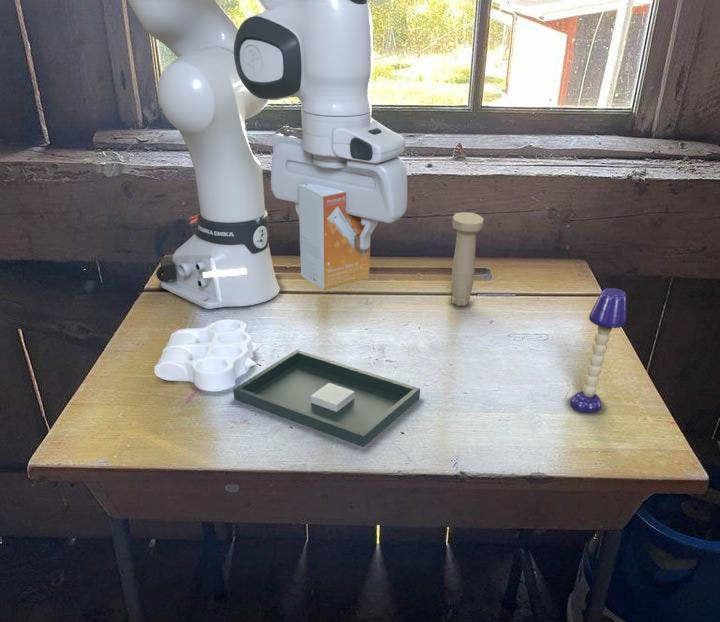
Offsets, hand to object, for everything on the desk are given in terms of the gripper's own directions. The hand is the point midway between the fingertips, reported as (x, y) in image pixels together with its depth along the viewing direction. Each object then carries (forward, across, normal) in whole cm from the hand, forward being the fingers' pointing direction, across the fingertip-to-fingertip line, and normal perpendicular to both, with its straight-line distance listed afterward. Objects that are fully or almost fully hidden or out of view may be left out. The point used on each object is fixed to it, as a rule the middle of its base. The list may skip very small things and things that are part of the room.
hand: (336, 241), depth 102 cm
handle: (+18, +7, +30) cm, 36 cm away
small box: (+5, 0, 0) cm, 5 cm away
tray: (+18, +6, -12) cm, 22 cm away
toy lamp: (+18, +38, +8) cm, 42 cm away
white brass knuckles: (+19, -15, -12) cm, 27 cm away
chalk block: (+18, +7, -12) cm, 22 cm away
